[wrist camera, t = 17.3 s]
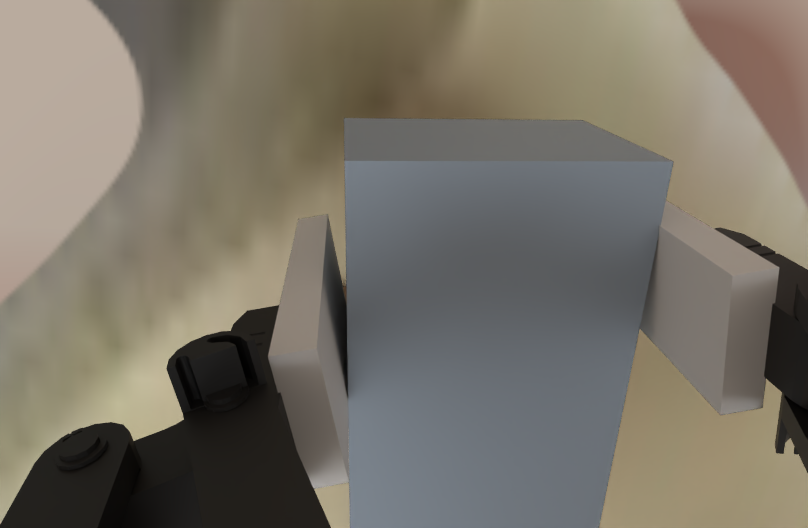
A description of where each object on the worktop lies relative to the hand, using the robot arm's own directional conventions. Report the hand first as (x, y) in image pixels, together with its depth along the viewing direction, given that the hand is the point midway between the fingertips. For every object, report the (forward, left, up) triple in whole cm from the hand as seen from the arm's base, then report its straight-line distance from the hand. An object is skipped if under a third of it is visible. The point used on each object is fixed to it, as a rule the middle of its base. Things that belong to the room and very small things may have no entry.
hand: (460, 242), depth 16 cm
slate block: (-1, 0, 0) cm, 1 cm away
